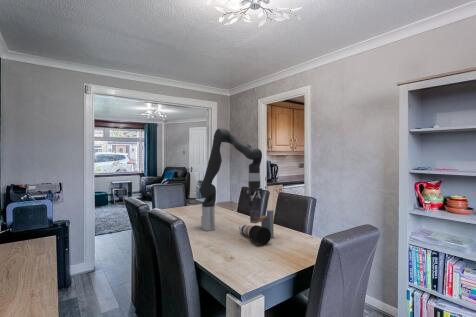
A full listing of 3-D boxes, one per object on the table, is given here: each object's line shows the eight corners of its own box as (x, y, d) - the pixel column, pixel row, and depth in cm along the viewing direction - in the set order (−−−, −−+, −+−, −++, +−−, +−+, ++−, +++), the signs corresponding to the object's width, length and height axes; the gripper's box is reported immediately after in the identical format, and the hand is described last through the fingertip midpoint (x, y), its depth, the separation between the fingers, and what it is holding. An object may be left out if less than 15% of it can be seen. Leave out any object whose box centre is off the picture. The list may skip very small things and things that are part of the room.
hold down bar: (250, 222, 164) (250, 210, 164) (265, 217, 177) (265, 206, 177) (255, 223, 162) (255, 211, 161) (270, 218, 175) (270, 207, 175)
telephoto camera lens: (243, 237, 187) (248, 223, 190) (267, 247, 157) (273, 231, 159) (231, 232, 184) (236, 218, 187) (254, 241, 153) (260, 225, 156)
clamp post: (261, 236, 174) (261, 209, 174) (264, 235, 177) (264, 208, 177) (270, 238, 170) (270, 211, 169) (273, 237, 173) (273, 210, 172)
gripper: (256, 178, 172) (256, 203, 172) (242, 180, 161) (242, 206, 161) (265, 179, 167) (265, 204, 167) (252, 181, 156) (252, 208, 156)
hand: (254, 205), depth 164 cm, fingers open, 8 cm apart
